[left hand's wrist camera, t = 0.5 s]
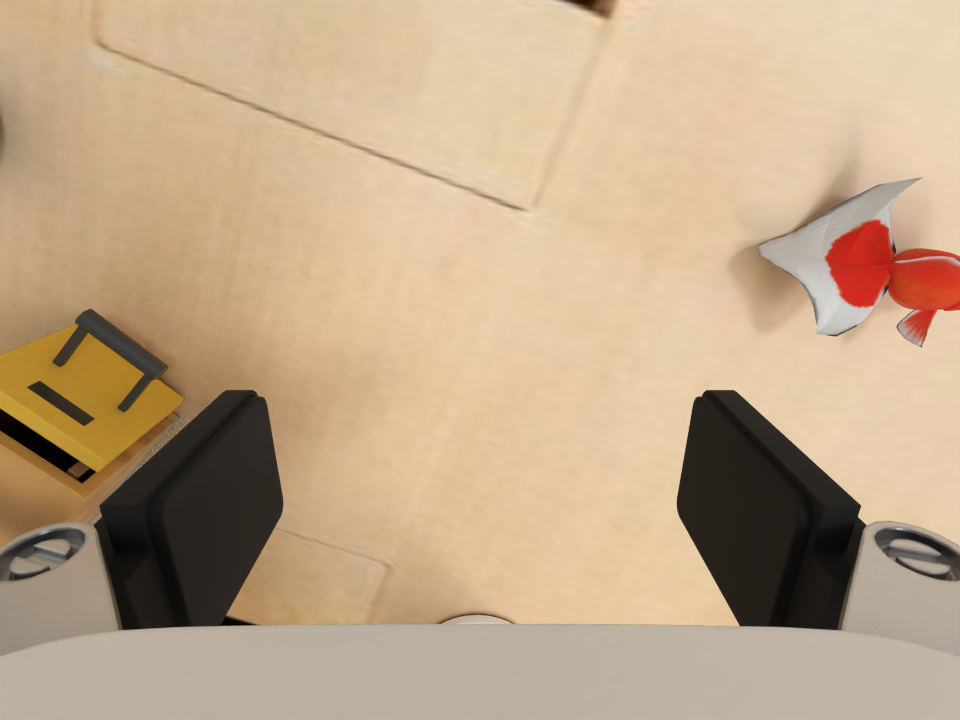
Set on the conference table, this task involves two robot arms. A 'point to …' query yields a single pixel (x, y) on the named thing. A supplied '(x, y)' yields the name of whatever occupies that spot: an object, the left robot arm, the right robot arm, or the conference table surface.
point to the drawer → (82, 395)
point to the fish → (866, 266)
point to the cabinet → (61, 484)
